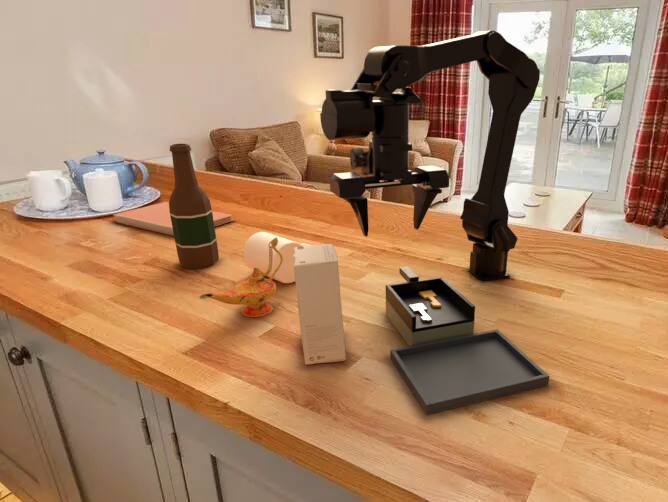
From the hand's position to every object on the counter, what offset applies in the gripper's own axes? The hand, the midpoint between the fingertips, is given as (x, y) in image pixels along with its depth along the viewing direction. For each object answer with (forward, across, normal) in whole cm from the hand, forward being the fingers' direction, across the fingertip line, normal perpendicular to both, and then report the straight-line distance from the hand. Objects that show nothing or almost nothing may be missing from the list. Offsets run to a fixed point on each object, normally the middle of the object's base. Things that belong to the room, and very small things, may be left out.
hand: (391, 232), depth 82 cm
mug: (+13, +15, -20) cm, 28 cm away
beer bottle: (+12, +30, -33) cm, 46 cm away
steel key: (+9, +1, +13) cm, 16 cm away
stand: (+12, -1, +11) cm, 17 cm away
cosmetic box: (+12, +16, +11) cm, 23 cm away
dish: (+10, -1, +9) cm, 13 cm away
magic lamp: (+12, +24, -4) cm, 27 cm away
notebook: (+12, +34, -67) cm, 76 cm away
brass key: (+9, -3, +10) cm, 13 cm away
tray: (+12, 0, +25) cm, 28 cm away
